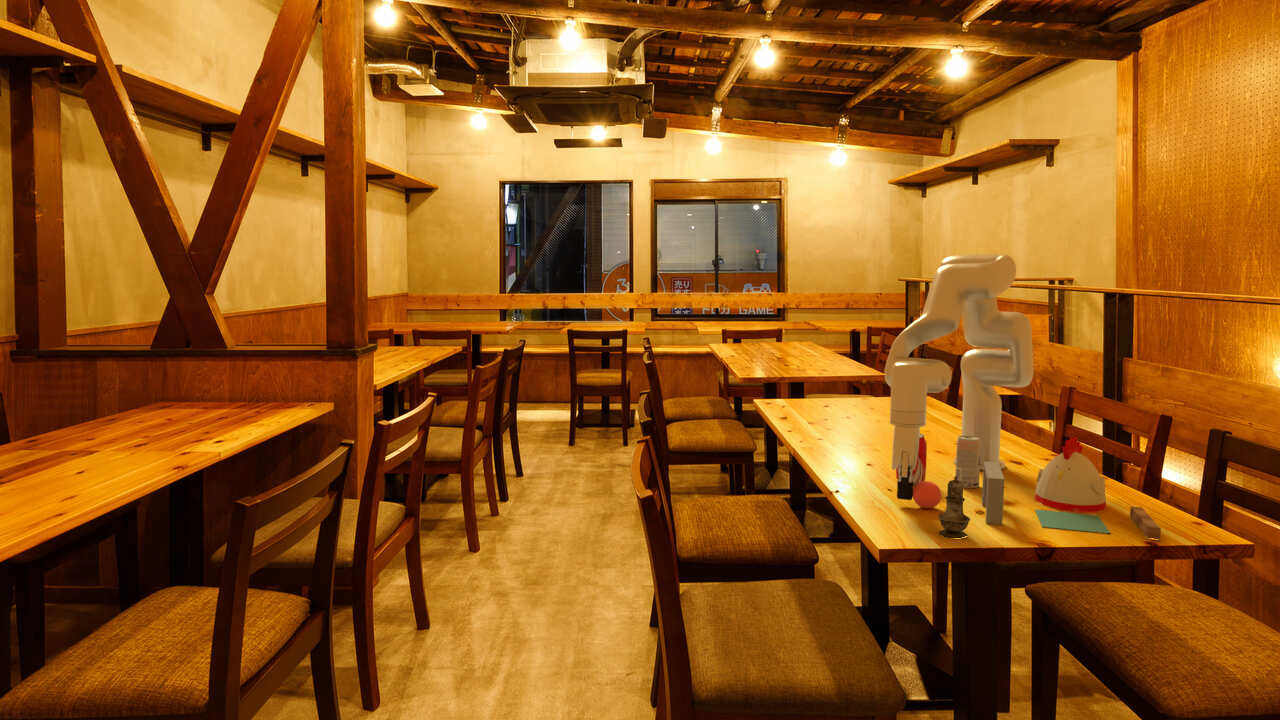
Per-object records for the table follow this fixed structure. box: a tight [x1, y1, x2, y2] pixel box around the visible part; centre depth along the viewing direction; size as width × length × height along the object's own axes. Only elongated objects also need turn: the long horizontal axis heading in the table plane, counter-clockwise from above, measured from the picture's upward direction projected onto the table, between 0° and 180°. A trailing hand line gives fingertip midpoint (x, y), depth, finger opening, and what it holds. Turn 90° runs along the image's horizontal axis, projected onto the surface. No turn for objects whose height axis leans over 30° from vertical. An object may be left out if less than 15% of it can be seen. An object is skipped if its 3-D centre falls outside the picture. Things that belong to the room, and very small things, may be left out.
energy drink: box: [955, 435, 981, 489], centre depth 182 cm, size 5×5×12 cm
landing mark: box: [1034, 508, 1111, 534], centre depth 155 cm, size 12×12×1 cm
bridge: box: [981, 461, 1005, 526], centre depth 160 cm, size 3×15×10 cm, turn 159°
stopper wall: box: [1129, 506, 1162, 540], centre depth 151 cm, size 14×2×2 cm, turn 159°
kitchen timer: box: [1034, 436, 1107, 513], centre depth 168 cm, size 14×14×15 cm
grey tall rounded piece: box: [937, 475, 971, 539], centre depth 147 cm, size 6×6×12 cm
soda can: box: [895, 433, 928, 485], centre depth 186 cm, size 7×7×12 cm
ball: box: [912, 480, 942, 509], centre depth 165 cm, size 6×6×6 cm
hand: (904, 498), depth 167 cm, fingers closed
